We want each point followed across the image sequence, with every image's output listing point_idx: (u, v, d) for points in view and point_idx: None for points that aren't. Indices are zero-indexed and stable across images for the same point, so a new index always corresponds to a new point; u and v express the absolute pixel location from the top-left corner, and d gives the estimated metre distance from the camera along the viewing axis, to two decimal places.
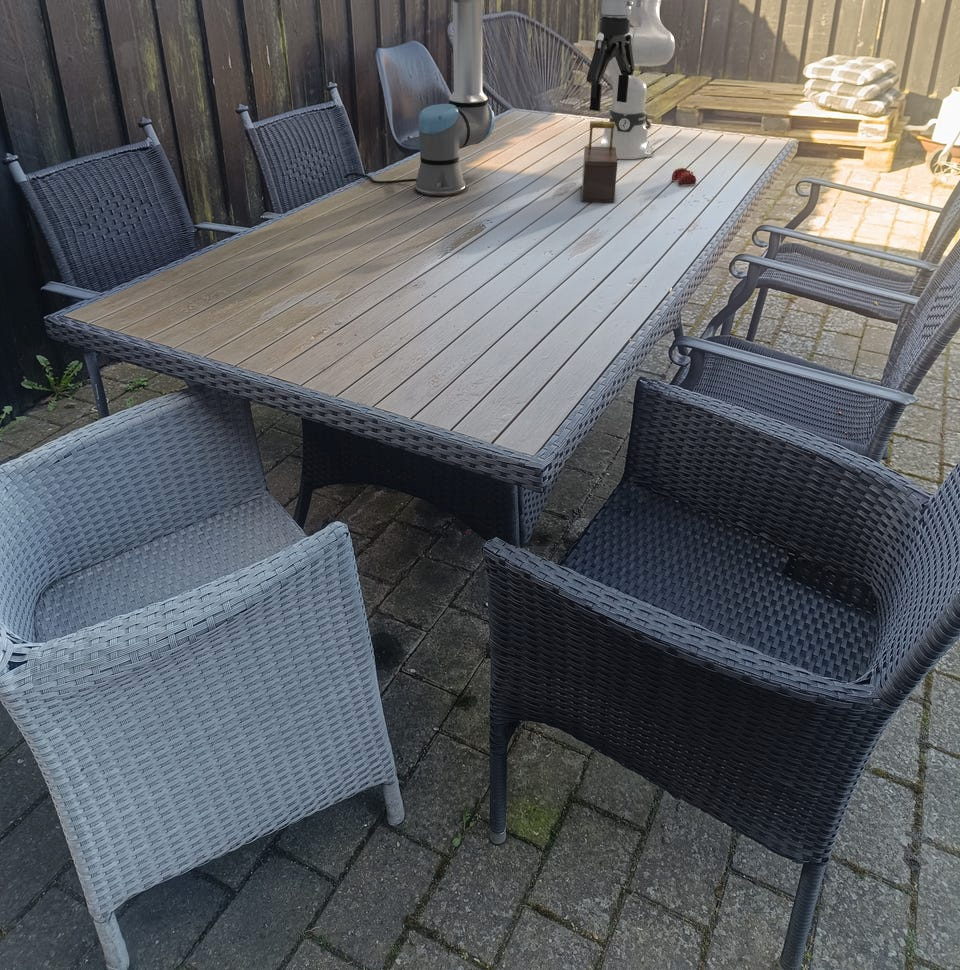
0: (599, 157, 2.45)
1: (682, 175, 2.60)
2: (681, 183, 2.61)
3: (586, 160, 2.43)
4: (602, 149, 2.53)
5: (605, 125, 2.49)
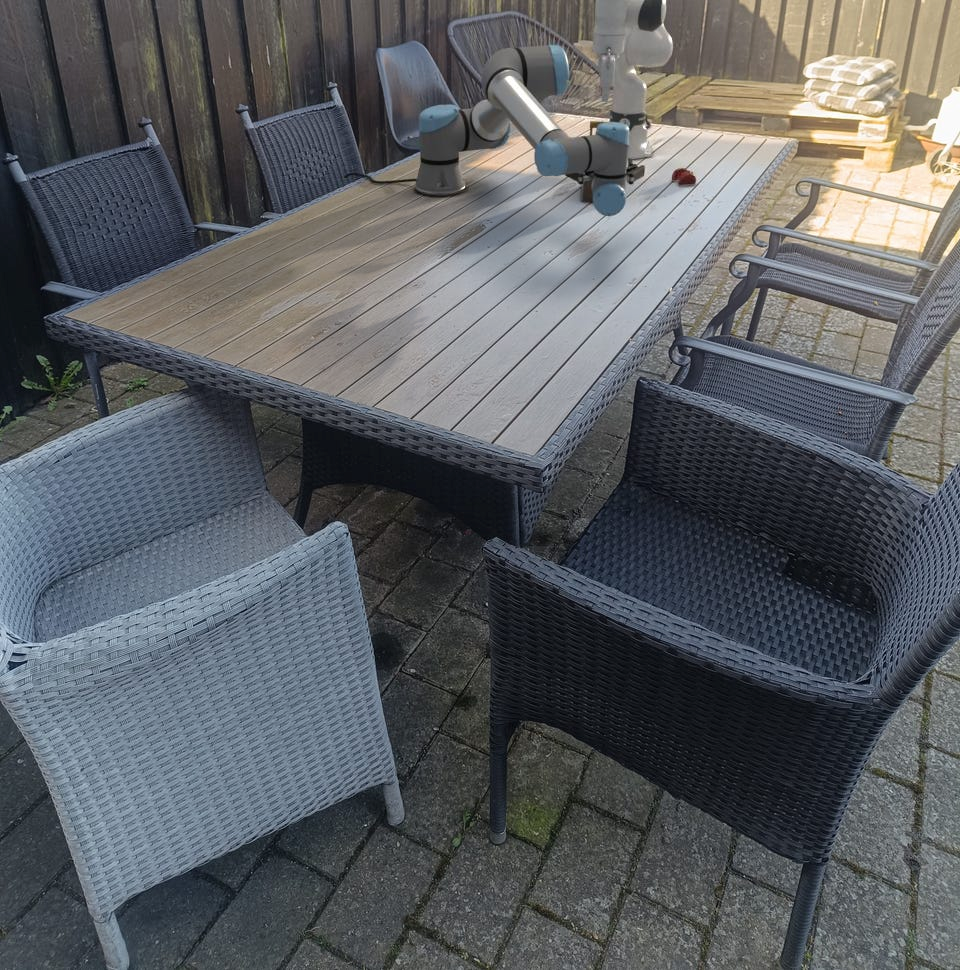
0: None
1: (682, 175, 2.60)
2: (681, 183, 2.61)
3: None
4: None
5: None
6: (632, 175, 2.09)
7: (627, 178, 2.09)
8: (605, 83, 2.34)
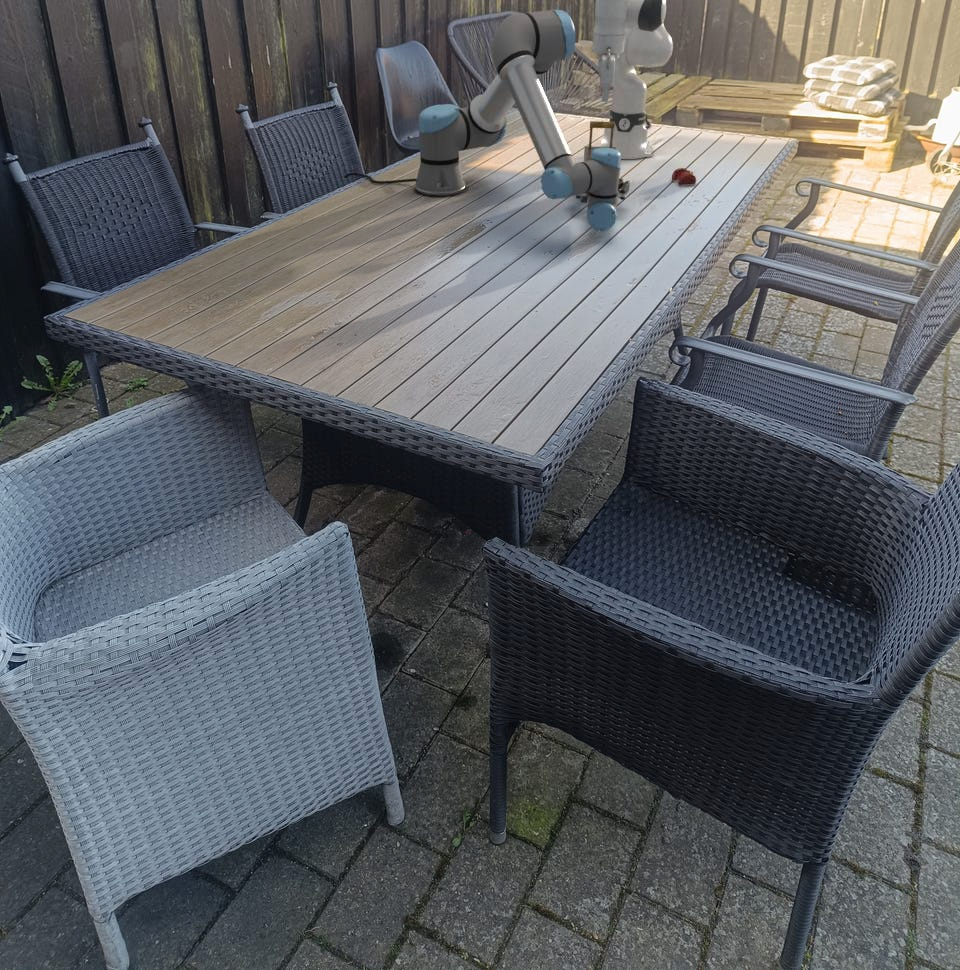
0: None
1: (682, 175, 2.60)
2: (681, 183, 2.61)
3: (586, 160, 2.43)
4: None
5: (605, 125, 2.49)
6: (624, 191, 2.33)
7: (620, 194, 2.33)
8: (605, 82, 2.34)
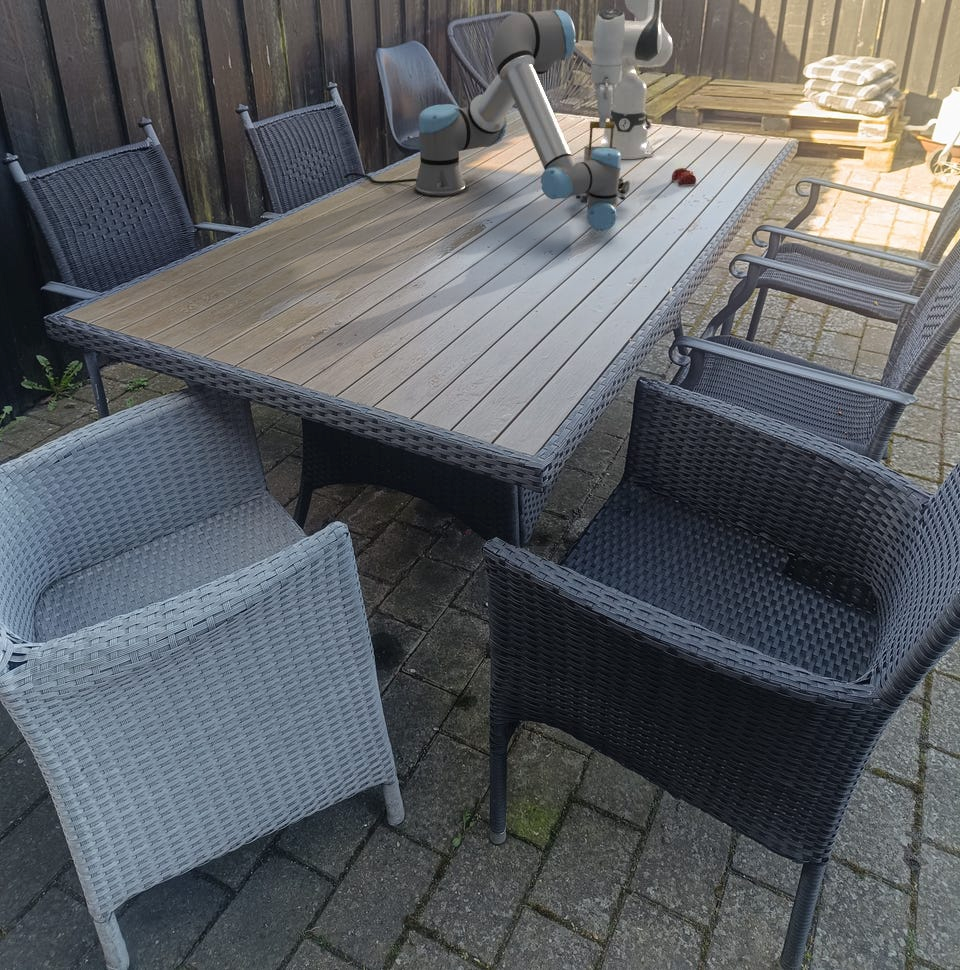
0: None
1: (682, 175, 2.60)
2: (681, 183, 2.61)
3: (586, 160, 2.43)
4: None
5: None
6: (624, 191, 2.33)
7: (620, 194, 2.33)
8: (603, 112, 2.38)
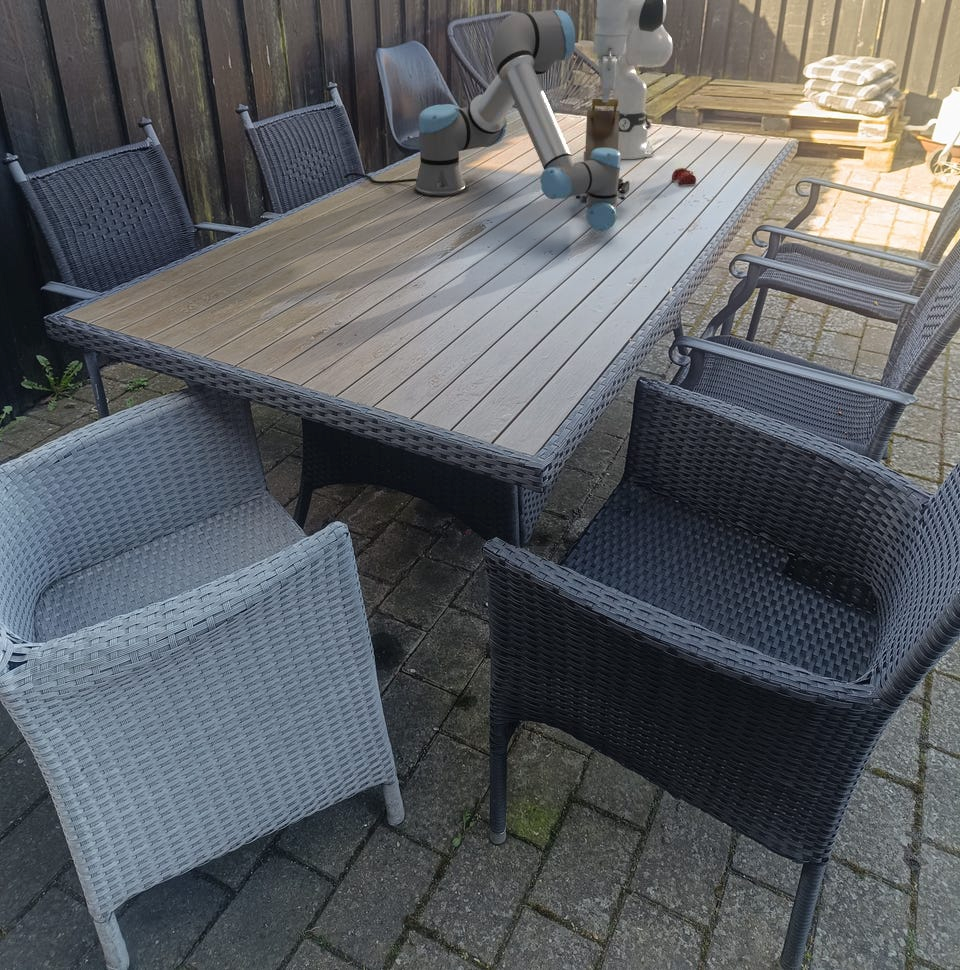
0: None
1: (682, 175, 2.60)
2: (681, 183, 2.61)
3: (586, 159, 2.42)
4: (605, 120, 2.44)
5: (608, 105, 2.37)
6: (624, 191, 2.32)
7: (619, 194, 2.33)
8: (606, 85, 2.26)
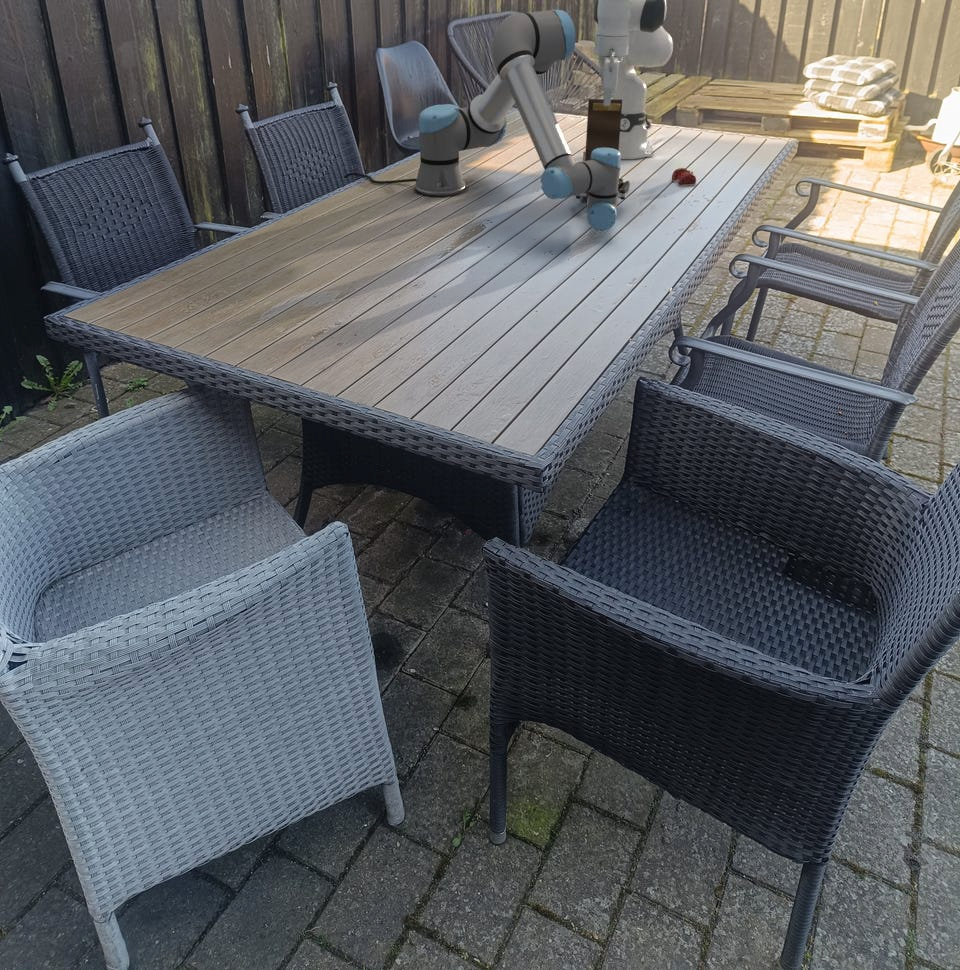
0: (600, 147, 2.40)
1: (682, 175, 2.60)
2: (681, 183, 2.61)
3: (586, 160, 2.41)
4: (607, 112, 2.37)
5: (610, 110, 2.30)
6: (624, 191, 2.33)
7: (620, 194, 2.33)
8: (608, 86, 2.17)
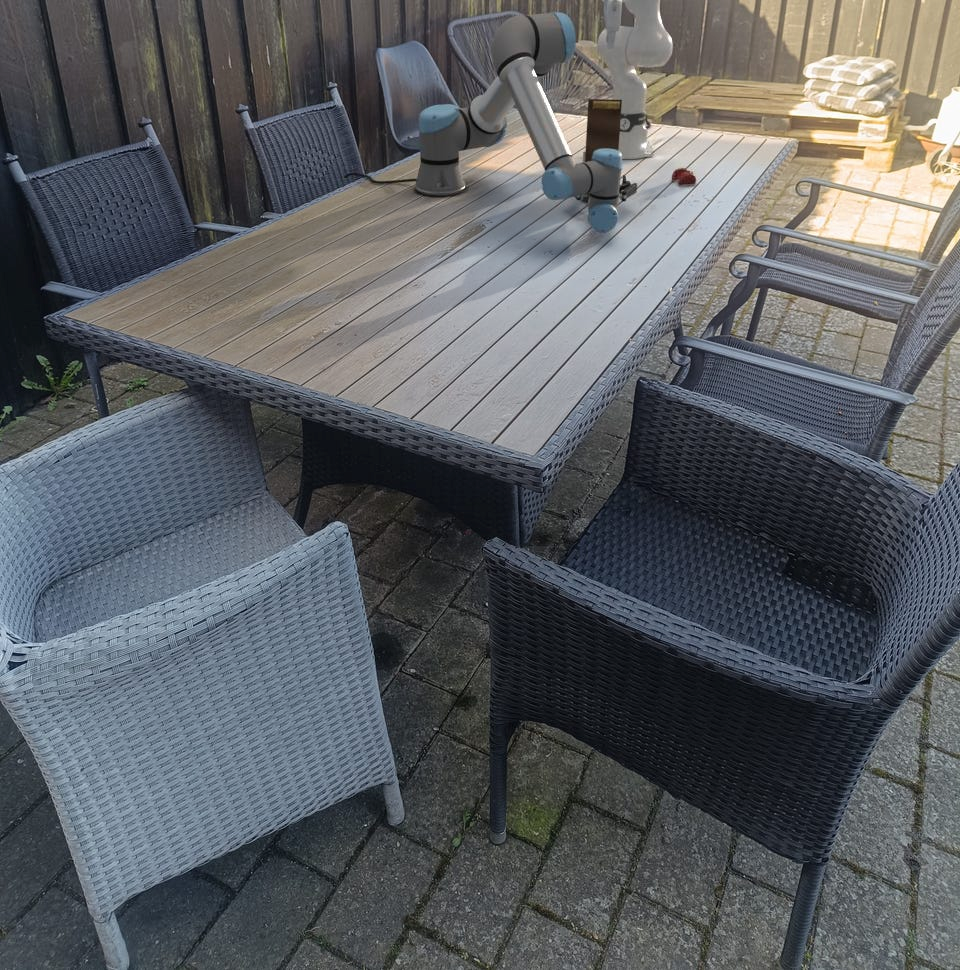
0: (600, 147, 2.40)
1: (682, 175, 2.60)
2: (681, 183, 2.61)
3: (586, 160, 2.42)
4: (606, 112, 2.38)
5: (610, 108, 2.31)
6: (625, 193, 2.31)
7: (620, 196, 2.32)
8: (611, 26, 2.16)
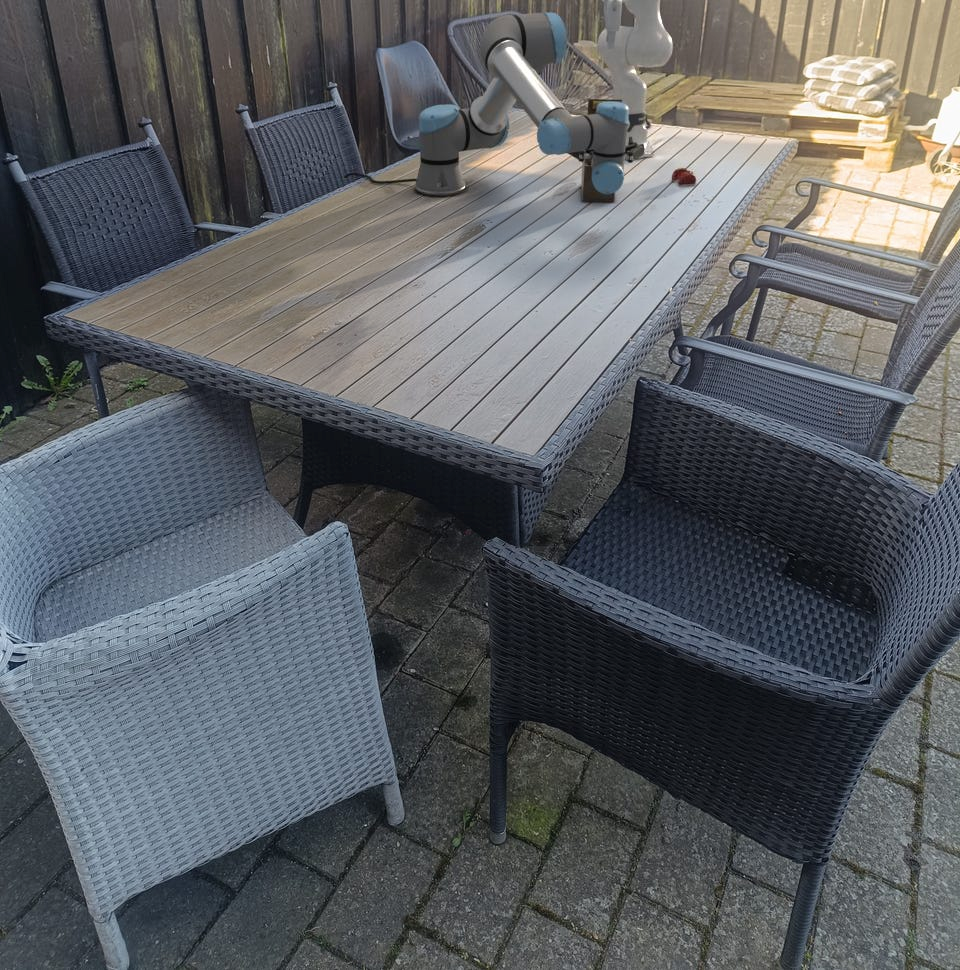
0: None
1: (682, 175, 2.60)
2: (681, 183, 2.61)
3: (586, 160, 2.42)
4: None
5: None
6: (631, 154, 2.13)
7: (626, 157, 2.14)
8: (611, 26, 2.16)
